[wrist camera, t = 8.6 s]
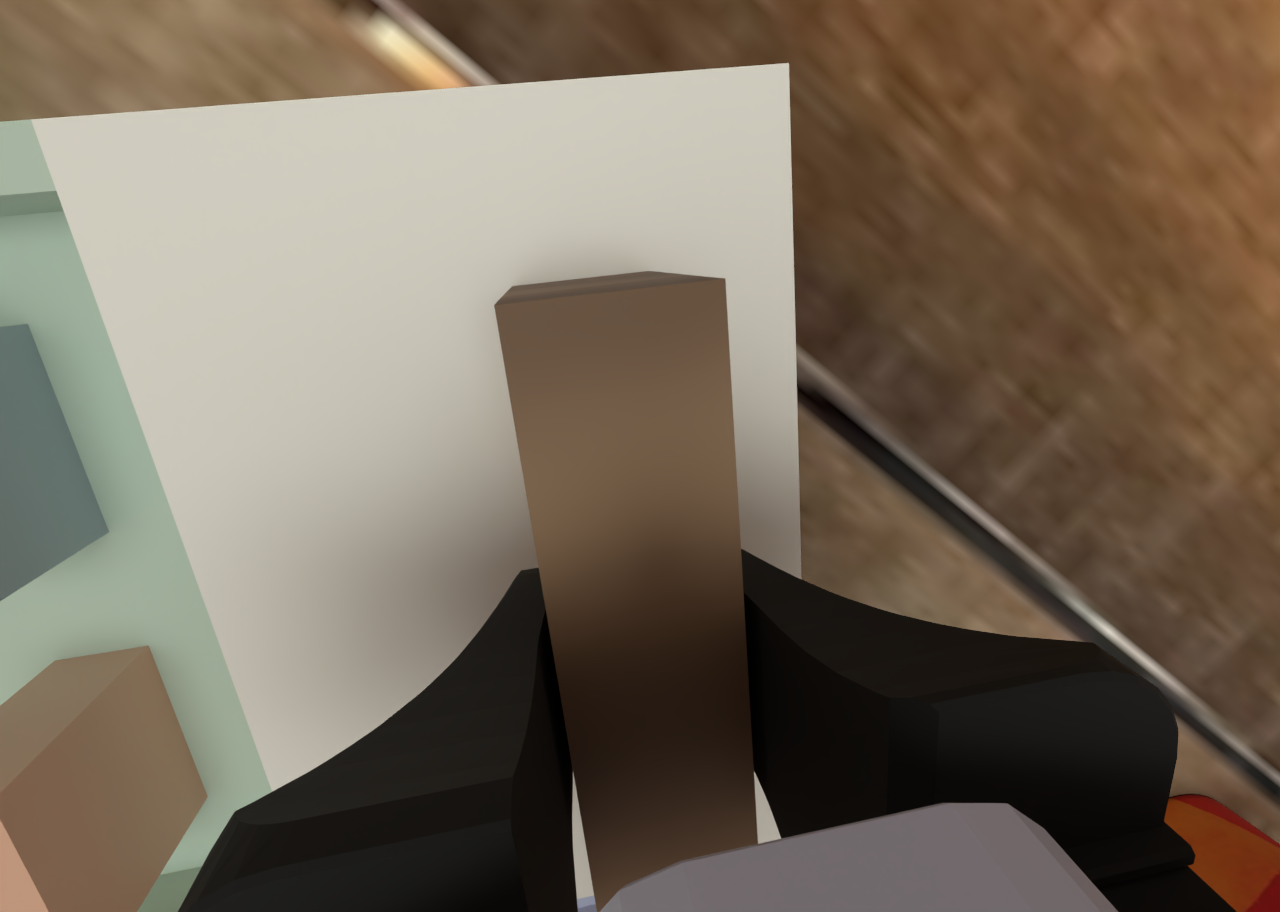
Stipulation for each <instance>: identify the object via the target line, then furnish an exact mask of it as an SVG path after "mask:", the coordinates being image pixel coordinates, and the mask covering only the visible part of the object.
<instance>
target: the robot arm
mask: <svg viewBox="0 0 1280 912" xmlns="http://www.w3.org/2000/svg"><path fill="white" fill-rule="evenodd" d="M741 557H742V575H743V592H744V609H745V627H746V644H747V661H748V678H749V696H750V713H751V730H752V748H753V765H754V772H755V774H756V776H757V778H758V780H759V782H760V785H761V787H762V789H763V792H764V794H765V796H766V799H767V801H768V803H769V806H770V809H771V811H772V814H773V817H774V820H775V823H776V825H777V828H778V831H779V834H780V836H781V839H777V840H773V841H768V842H764V843H759V844H755V845H750V846H746V847H741V848H737V849H732V850H728V851H723V852H719V853H714V854H710V855H705V856H701V857H696V858H692V859H687V860H683V861H679V862H677V863H675V864H672V865H670V866H668V867H666V868H663V869H661V870H659V871H656V872H654V873H652V874H650V875H647V876H645V877H643V878H640V879H638V880H636V881H633V882H631V883H629V884H627V885H625V886H624V887H622V888H621V889H620V890H619V891H618V892H617V893H616V894H615V895H614V897H613V898H612V899H611V900H610V901H609V902H608V903H607V904H606V905H605V906H604V907H603V909H602V910H601V911H600V912H1237V911H1236V910H1234V909H1233V908H1232V907H1231V906H1230V905H1229V904H1228V903H1227V902H1226V901H1225V900H1224V899H1223V898H1222V897H1221V896H1219V895H1218V894H1217V893H1216V892H1215V891H1214V890H1213V889H1212V888H1211V887H1210V886H1209V885H1208V884H1207V883H1206V882H1204V881H1203V880H1202V879H1201V878H1200V877H1199V876H1198V875H1197V874H1196V873H1195V872H1194V871H1193V870H1192V869H1191V868H1189V867H1188V865H1192V864H1194V860H1195V856H1196V855H1195V853H1194V851H1193V849H1192V847H1191V845H1190V844H1189V843H1188V842H1186V841H1185V840H1184V839H1183V838H1182V837H1181V836H1180V835H1179V834H1178V833H1176V832H1175V831H1174V830H1173V829H1172V828H1171V827H1170V826H1169V825H1168V824H1166V823H1165V822H1164V818H1165V814H1166V809H1167V804H1168V799H1169V794H1170V789H1171V784H1172V779H1173V774H1174V769H1175V764H1176V760H1177V746H1178V727H1177V723H1176V719H1175V716H1174V712H1173V709H1172V706H1171V704H1170V703H1169V702H1168V700H1167V699H1166V698H1165V696H1164V695H1163V694H1162V692H1161V691H1160V690H1159V689H1158V688H1157V687H1156V686H1154V685H1153V684H1152V683H1150V682H1149V681H1147V680H1146V679H1144V678H1143V677H1142V676H1140V675H1139V674H1137V673H1136V672H1134V671H1133V670H1132V669H1130V668H1129V667H1127V666H1126V665H1124V664H1123V663H1122V662H1120V661H1119V660H1117V659H1116V658H1114V657H1113V656H1111V655H1110V654H1109V653H1107V652H1106V651H1104V650H1103V649H1101V648H1100V647H1099V646H1097V645H1096V644H1094V643H1089V642H1077V641H1065V640H1052V639H1040V638H1028V637H1016V636H1008V635H1001V634H994V633H988V632H981V631H974V630H968V629H962V628H957V627H951V626H946V625H941V624H936V623H932V622H927V621H923V620H919V619H915V618H911V617H906V616H902V615H898V614H895V613H891V612H887V611H884V610H880V609H877V608H874V607H871V606H868V605H865V604H862V603H859V602H856V601H853V600H850V599H847V598H844V597H842V596H839V595H837V594H834V593H831V592H829V591H827V590H824V589H822V588H820V587H817V586H815V585H813V584H810V583H808V582H806V581H804V580H801V579H799V578H797V577H795V576H793V575H791V574H789V573H787V572H785V571H783V570H781V569H779V568H777V567H775V566H773V565H771V564H769V563H767V562H765V561H764V560H762V559H760V558H758V557H756V556H754V555H752V554H751V553H749V552H747V551H745V550H743V549H741ZM572 798H573V768H572V762H571V756H570V750H569V744H568V738H567V732H566V726H565V720H564V714H563V709H562V703H561V697H560V691H559V685H558V679H557V673H556V667H555V661H554V655H553V650H552V644H551V638H550V632H549V626H548V620H547V614H546V608H545V602H544V596H543V591H542V585H541V579H540V573H539V568H533V569H527V570H521V571H520V572H519V574H518V575H517V576H516V577H515V579H514V580H513V582H512V584H511V585H510V587H509V588H508V590H507V592H506V593H505V595H504V596H503V598H502V599H501V601H500V602H499V604H498V605H497V607H496V608H495V610H494V611H493V612H492V614H491V615H490V617H489V618H488V619H487V621H486V622H485V623H484V625H483V626H482V628H481V629H480V630H479V632H478V633H477V634H476V635H475V637H474V638H473V639H472V640H471V641H470V643H469V644H468V645H467V646H466V647H465V649H464V650H463V651H462V652H461V653H460V655H459V656H458V657H457V658H456V659H455V660H454V661H453V662H452V663H451V664H450V665H449V666H448V667H447V668H446V669H445V670H444V671H443V672H442V673H441V674H440V675H439V676H438V677H437V678H436V679H435V680H434V681H433V682H432V683H431V684H430V685H429V686H427V687H426V688H425V689H424V690H423V691H422V692H421V693H420V694H418V695H417V696H416V697H415V698H413V699H412V700H411V701H410V702H408V703H407V704H406V705H405V706H403V707H402V708H401V709H400V710H398V711H397V712H396V713H395V714H393V715H392V716H391V717H390V718H388V719H387V720H386V721H385V722H383V723H382V724H381V725H380V726H378V727H377V728H375V729H374V730H373V731H371V732H370V733H368V734H367V735H365V736H364V737H363V738H361V739H360V740H358V741H357V742H355V743H354V744H352V745H351V746H349V747H348V748H346V749H345V750H343V751H341V752H340V753H338V754H337V755H335V756H334V757H332V758H331V759H329V760H327V761H326V762H324V763H323V764H321V765H319V766H318V767H316V768H314V769H312V770H311V771H309V772H307V773H306V774H304V775H302V776H300V777H298V778H296V779H295V780H293V781H291V782H289V783H287V784H285V785H284V786H282V787H280V788H278V789H276V790H274V791H273V792H271V793H269V794H267V795H265V796H263V797H262V798H260V799H258V800H256V801H254V802H252V803H250V804H248V805H246V806H244V807H242V808H240V809H238V810H236V811H235V812H234V813H233V815H232V817H231V818H230V820H229V821H228V823H227V825H226V826H225V828H224V829H223V831H222V833H221V834H220V836H219V838H218V839H217V841H216V842H215V844H214V846H213V847H212V849H211V851H210V852H209V854H208V856H207V858H206V860H205V862H204V864H203V865H202V867H201V869H200V871H199V873H198V875H197V877H196V879H195V880H194V882H193V884H192V886H191V888H190V890H189V892H188V894H187V895H186V897H185V899H184V901H183V903H182V905H181V907H180V908H179V910H178V912H597V909H596V903H595V897H594V896H589V897H585V898H580V899H577V894H576V881H575V868H574V855H573V835H572Z"/></svg>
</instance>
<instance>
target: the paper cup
mask: <svg viewBox="0 0 1280 912" xmlns="http://www.w3.org/2000/svg"><path fill="white" fill-rule="evenodd" d="M1164 822H1165V823H1166V824H1168V825H1169V826H1170V827H1171V828H1172V829H1173V830H1174V831H1175V832H1176V833H1178V834H1179V835H1180V836H1181V837H1182V838H1183V839H1184V840H1185V841H1186V842H1188V843H1189V844H1190V845H1191V847H1192V849H1193V851H1194V853H1195V855H1196V856H1195V860H1194V864H1192V865H1188V867H1189V868H1191V869H1192V870H1193V871H1194V872H1195V873H1196V874H1197V875H1198V876H1199V877H1200V878H1201V879H1202V880H1203V881H1204V882H1206V883H1207V884H1208V885H1209V886H1210V887H1211V888H1212V889H1213V890H1214V891H1215V892H1216V893H1217V894H1218V895H1219V896H1221V897H1222V898H1223V899H1224V900H1225V901H1226V902H1227V903H1228V904H1229V905H1230V906H1231V907H1232V908H1233V909H1234V910H1236V911H1237V912H1280V844H1278V843H1277V842H1275V841H1274V840H1273V839H1271V838H1270V837H1268V836H1267V835H1265V834H1264V833H1263V832H1261V831H1260V830H1258V829H1257V828H1256V827H1254V826H1253V825H1251V824H1250V823H1248V822H1247V821H1246V820H1244V819H1243V818H1241V817H1240V816H1238V815H1237V814H1235V813H1234V812H1232V811H1231V810H1229V809H1228V808H1226V807H1225V806H1223V805H1222V804H1220V803H1218V802H1217V801H1215V800H1213V799H1211V798H1209V797H1206V796H1201V795H1181V796H1176V797H1172V798H1169V799H1168V804H1167V809H1166V814H1165V818H1164Z"/></svg>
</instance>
